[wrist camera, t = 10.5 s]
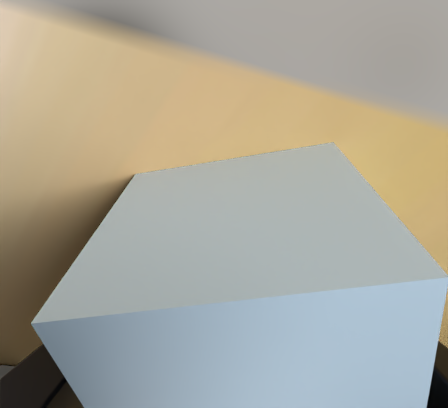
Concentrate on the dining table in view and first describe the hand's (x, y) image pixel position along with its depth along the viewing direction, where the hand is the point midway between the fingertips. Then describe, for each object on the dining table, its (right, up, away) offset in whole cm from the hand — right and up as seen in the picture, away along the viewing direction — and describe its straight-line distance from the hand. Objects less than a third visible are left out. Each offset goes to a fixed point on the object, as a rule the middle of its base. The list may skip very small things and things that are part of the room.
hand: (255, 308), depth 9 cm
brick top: (0, +1, +1) cm, 1 cm away
